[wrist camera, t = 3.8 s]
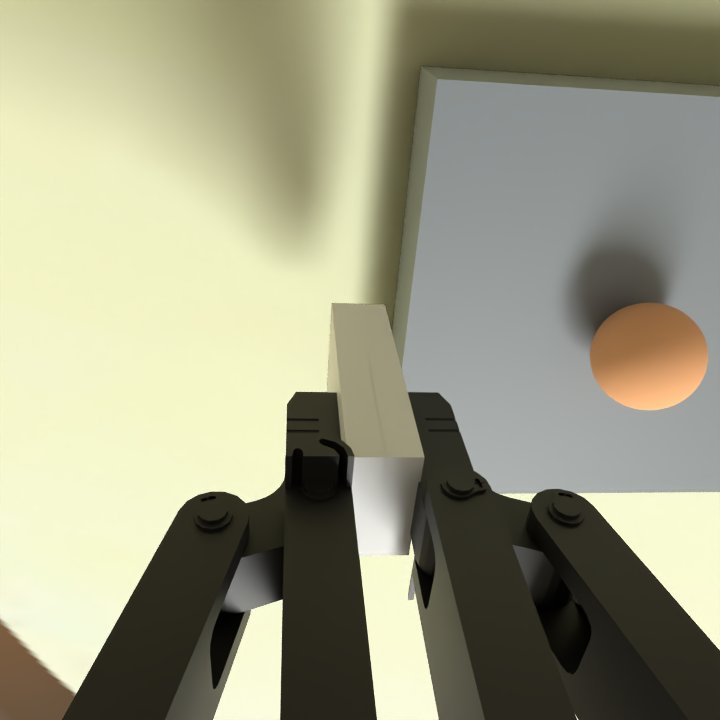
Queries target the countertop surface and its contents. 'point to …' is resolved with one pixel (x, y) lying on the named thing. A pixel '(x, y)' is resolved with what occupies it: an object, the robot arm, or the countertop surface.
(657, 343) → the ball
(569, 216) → the plate
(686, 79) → the countertop surface
